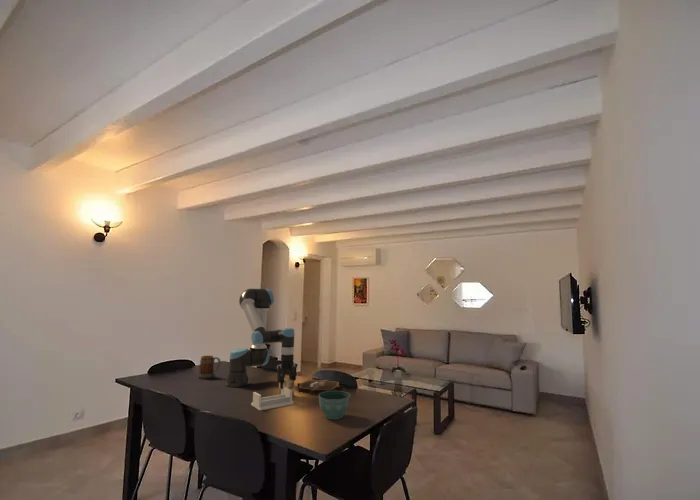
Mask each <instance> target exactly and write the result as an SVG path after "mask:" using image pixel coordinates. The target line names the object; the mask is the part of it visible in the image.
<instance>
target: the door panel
mask: <svg viewBox="0 0 700 500" xmlns="http://www.w3.org/2000/svg"><path fill="white" fill-rule="evenodd" d="M283 383H285V386H284V388H285V387H286V388H288V389H291V390H292V399H294V398H295V380H294V381H293V380H291V379H289V377H285V378H284V382H283ZM278 395H281V388H280V383H279V382H278Z"/></svg>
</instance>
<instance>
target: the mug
mask: <svg viewBox="0 0 700 500" xmlns="http://www.w3.org/2000/svg"><path fill="white" fill-rule="evenodd" d="M215 360H217V362H218V363H217V367H216V368H215V370H214V364H216V362H215ZM220 366H221V359H220V357H218V356H216V357H214V356H213V355H202V356H201V357H200V361H199V372H198V375H197V376H198V379H200V380H208V379H213V378H216V377H217V376H218V374H216V372H217V371H219V368H220Z"/></svg>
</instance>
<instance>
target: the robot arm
mask: <svg viewBox="0 0 700 500" xmlns="http://www.w3.org/2000/svg"><path fill="white" fill-rule="evenodd" d="M238 301H239V302H238V303H239V307H240V308H241V309H242V310H243V312H244V314H245V316H246V319H247V320H248V321H247V322H248V325H250V328H251V330H252V332H251V337H250V338H251V343H252V344H250V345H249V349H248V348H247V347H238V348H234V349H233V350H231V351H230V352H229V353H230V354H229V367H228V369H229V370H228V375H227V378H226V381H225V386H226V387H231V388H238V387H239V388H241V387H246V386H248V385H249V384H250V378H249V375H248V368H253V367H263V366H266V365H267V364H268V363H269V360H270V354H271V353H270V349H268V347H267V345H266V344H276V343H281V355H280V360H281V361H280V364H278V365H276V367H275V368H276V371H277V372H276V375H277V377H276V379H277V383H278V384H279V383H280V388H281V394H284V386H285V383H283V382H284V378H285V376H286V372H287V373H288V378H289V379H291V380H293V381H294V382H295V381H296V380H297V368H298V363H295V362H294V357H295V356H294V355H295V354H294V352H295V335H296V334H295V329H294V328H293V327H283V328H282V329H274V330H267V321H268V311H269V310H270V308H271V306H272V305H273V304H274V302H275V299H274V294H273V292H272V290H271V289H269V288H247V289H245V290H244V291H243V292H242V293H241V294H240V296H239V300H238Z"/></svg>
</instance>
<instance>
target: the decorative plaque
mask: <svg viewBox="0 0 700 500" xmlns="http://www.w3.org/2000/svg"><path fill="white" fill-rule="evenodd" d="M296 387H297V388H298V392H299V393H301V392H302V393H301V394H310V395H312V396H314V395H319V394H320V393H322V392H326V391H343V390H342V385H340V382H339V381H334V380H327V379H320V380H319V379H308V380H305V381H303V382H297V386H296Z"/></svg>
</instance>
